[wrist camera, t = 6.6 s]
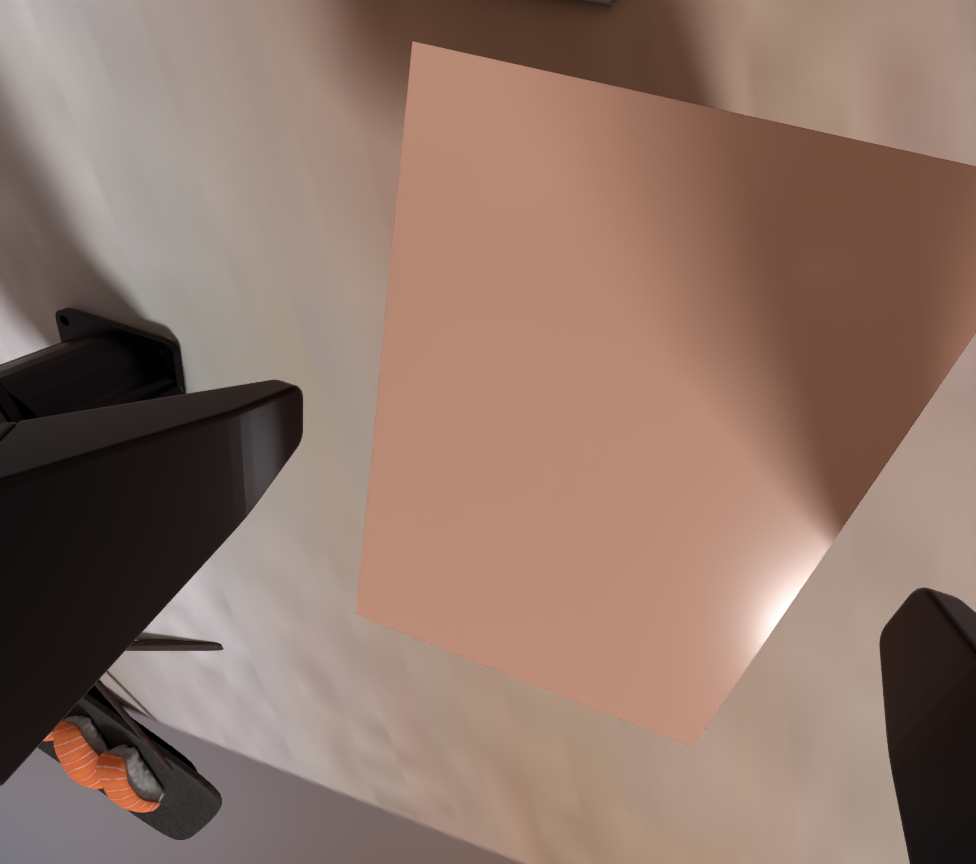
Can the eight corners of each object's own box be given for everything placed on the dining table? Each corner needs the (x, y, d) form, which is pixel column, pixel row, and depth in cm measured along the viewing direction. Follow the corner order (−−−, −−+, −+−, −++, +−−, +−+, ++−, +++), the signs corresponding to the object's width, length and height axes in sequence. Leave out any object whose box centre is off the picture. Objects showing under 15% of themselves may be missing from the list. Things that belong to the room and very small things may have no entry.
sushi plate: (-65, 643, 53) (-114, 677, 50) (-48, 436, 36) (-119, 467, 33) (195, 826, 55) (164, 871, 52) (322, 708, 39) (288, 763, 35)
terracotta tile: (405, 539, 14) (355, 614, 12) (478, 57, 9) (411, 41, 7) (692, 644, 13) (692, 747, 11) (970, 166, 8) (1075, 187, 6)
